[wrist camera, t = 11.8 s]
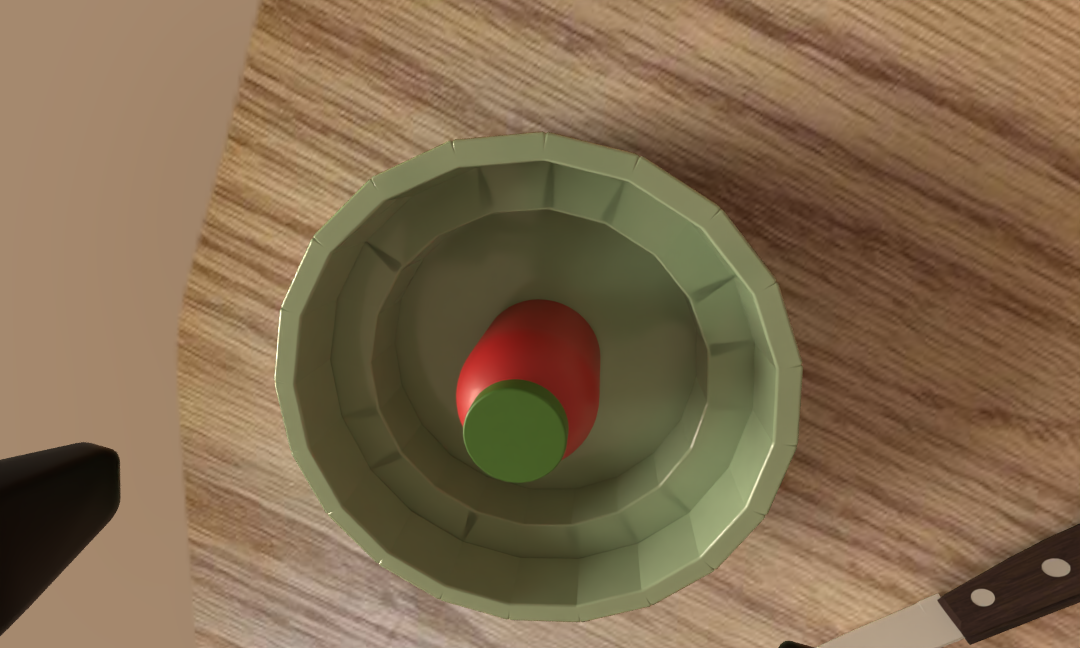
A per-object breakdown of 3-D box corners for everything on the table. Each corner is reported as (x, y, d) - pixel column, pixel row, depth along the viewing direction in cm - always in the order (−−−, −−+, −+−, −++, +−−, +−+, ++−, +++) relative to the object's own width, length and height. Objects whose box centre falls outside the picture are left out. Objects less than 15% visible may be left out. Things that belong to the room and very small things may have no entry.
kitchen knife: (1266, 435, 16) (1356, 472, 14) (1278, 459, 16) (1369, 499, 14) (727, 669, 21) (740, 721, 19) (741, 686, 21) (755, 739, 19)
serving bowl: (332, 466, 20) (258, 549, 16) (381, 94, 16) (298, 69, 12) (676, 562, 19) (696, 675, 15) (818, 203, 15) (900, 219, 11)
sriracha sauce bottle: (472, 393, 18) (420, 484, 13) (495, 285, 17) (448, 339, 11) (583, 422, 18) (574, 527, 13) (614, 316, 16) (619, 384, 11)
